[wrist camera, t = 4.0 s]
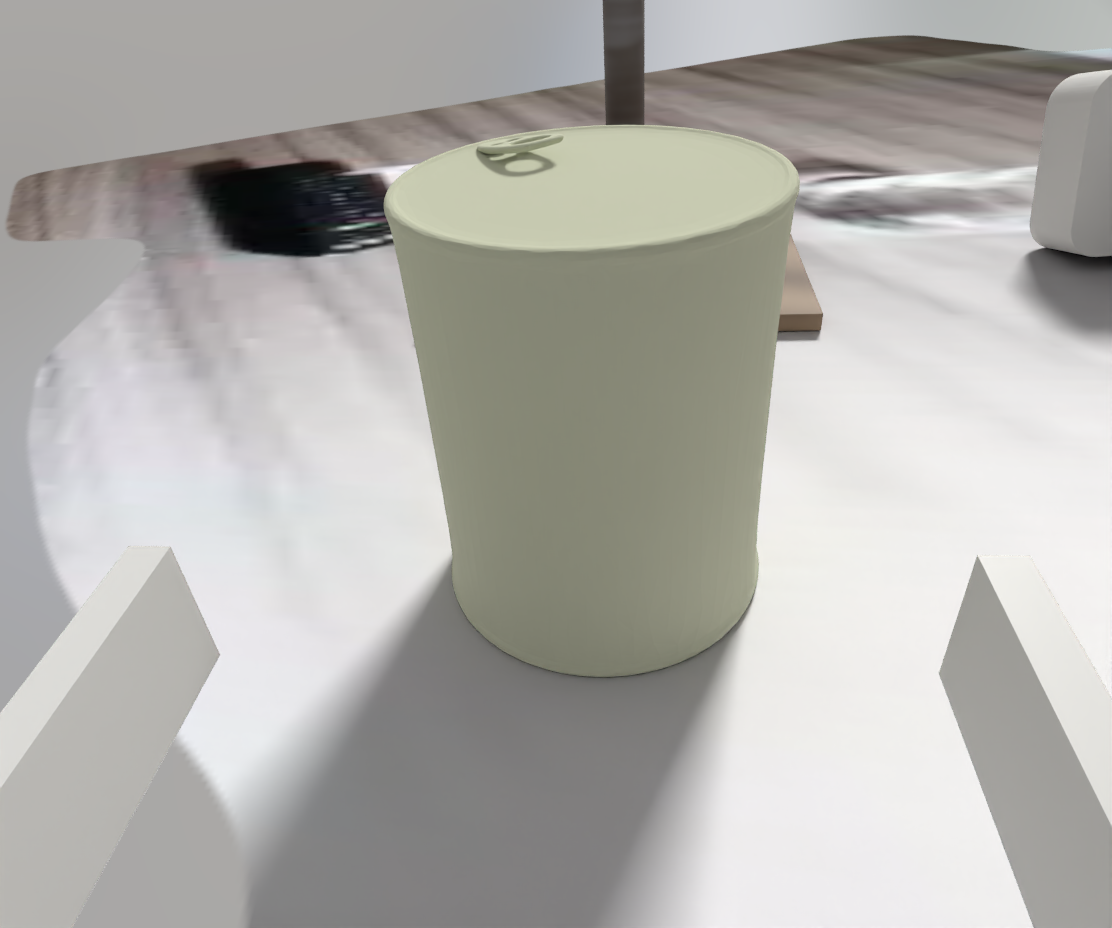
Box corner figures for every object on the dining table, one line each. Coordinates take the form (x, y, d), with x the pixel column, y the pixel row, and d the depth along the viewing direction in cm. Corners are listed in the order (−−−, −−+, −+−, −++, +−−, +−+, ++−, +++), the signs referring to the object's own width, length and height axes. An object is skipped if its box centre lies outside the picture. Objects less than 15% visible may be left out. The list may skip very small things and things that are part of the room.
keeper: (820, 330, 36) (888, -144, 26) (424, 336, 38) (347, -102, 28) (760, 175, 54) (786, -136, 44) (497, 185, 56) (466, -111, 46)
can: (616, 438, 30) (608, 89, 23) (823, 567, 24) (899, 142, 17) (398, 551, 26) (305, 161, 19) (582, 742, 19) (548, 270, 12)
